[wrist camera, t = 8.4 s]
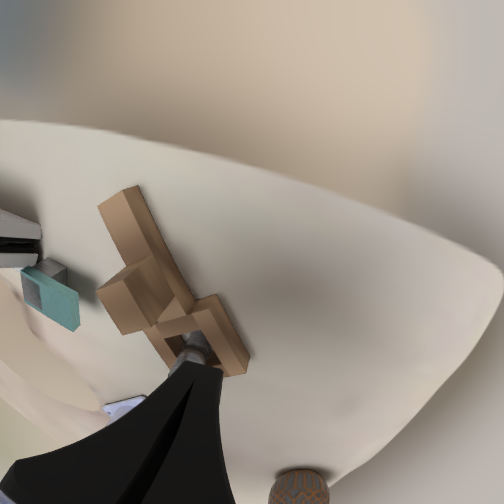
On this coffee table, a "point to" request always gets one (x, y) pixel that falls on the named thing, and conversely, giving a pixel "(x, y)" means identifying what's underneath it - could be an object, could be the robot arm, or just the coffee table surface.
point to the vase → (299, 489)
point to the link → (161, 290)
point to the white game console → (17, 241)
